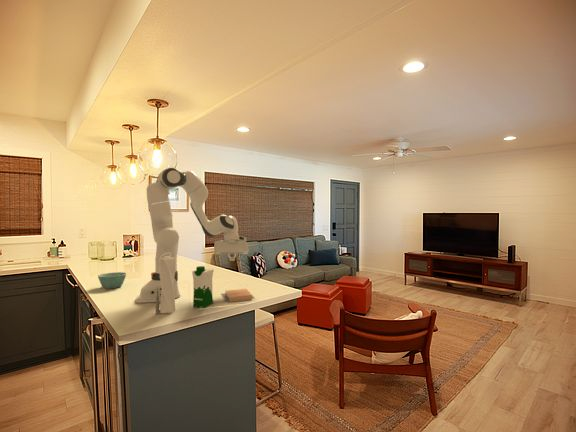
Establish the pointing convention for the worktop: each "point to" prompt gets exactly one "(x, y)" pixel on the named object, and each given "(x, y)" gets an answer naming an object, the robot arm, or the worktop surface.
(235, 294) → the tile
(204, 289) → the milk carton
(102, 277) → the bowl
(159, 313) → the skyscraper
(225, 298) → the mat
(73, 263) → the worktop surface
